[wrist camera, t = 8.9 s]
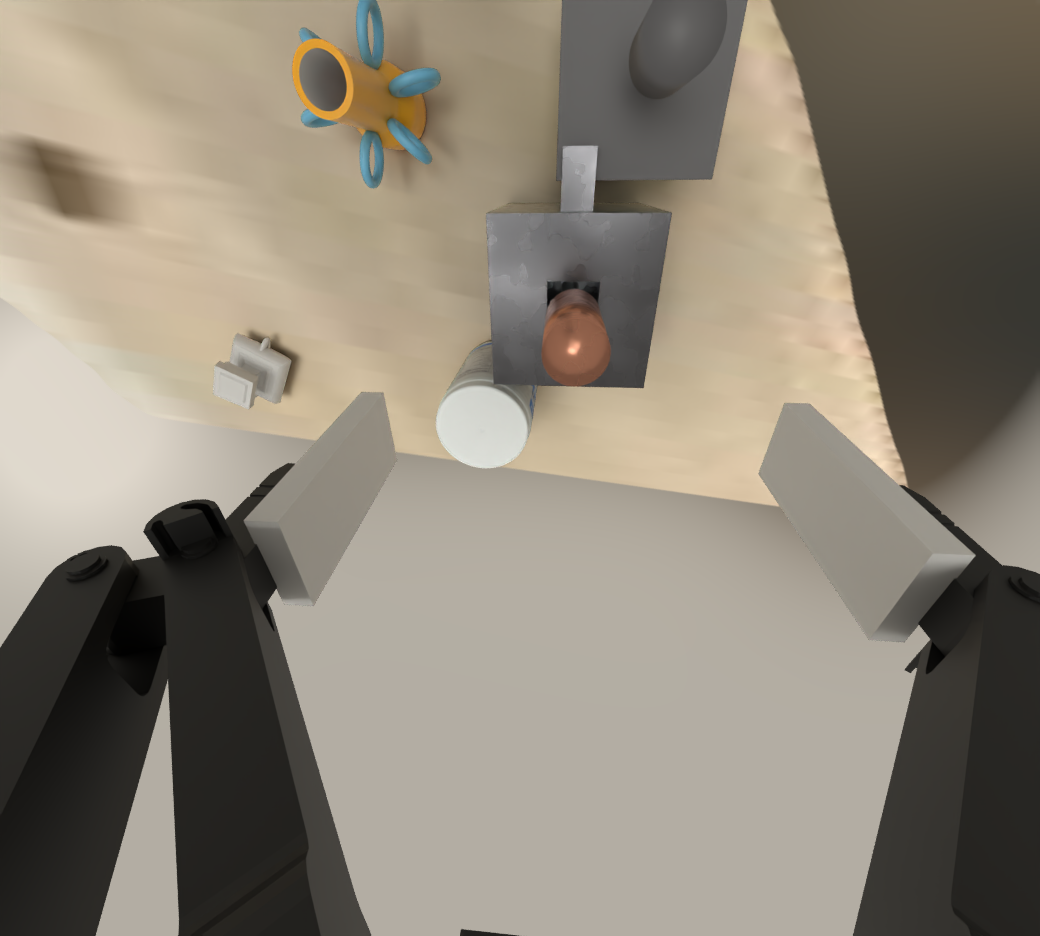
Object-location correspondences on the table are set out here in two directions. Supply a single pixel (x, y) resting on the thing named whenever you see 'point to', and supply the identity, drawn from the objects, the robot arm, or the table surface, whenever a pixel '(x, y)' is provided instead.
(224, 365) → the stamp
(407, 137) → the orange looped holder
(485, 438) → the supplement tub
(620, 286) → the grey box
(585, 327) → the copper lever handle
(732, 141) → the table surface
